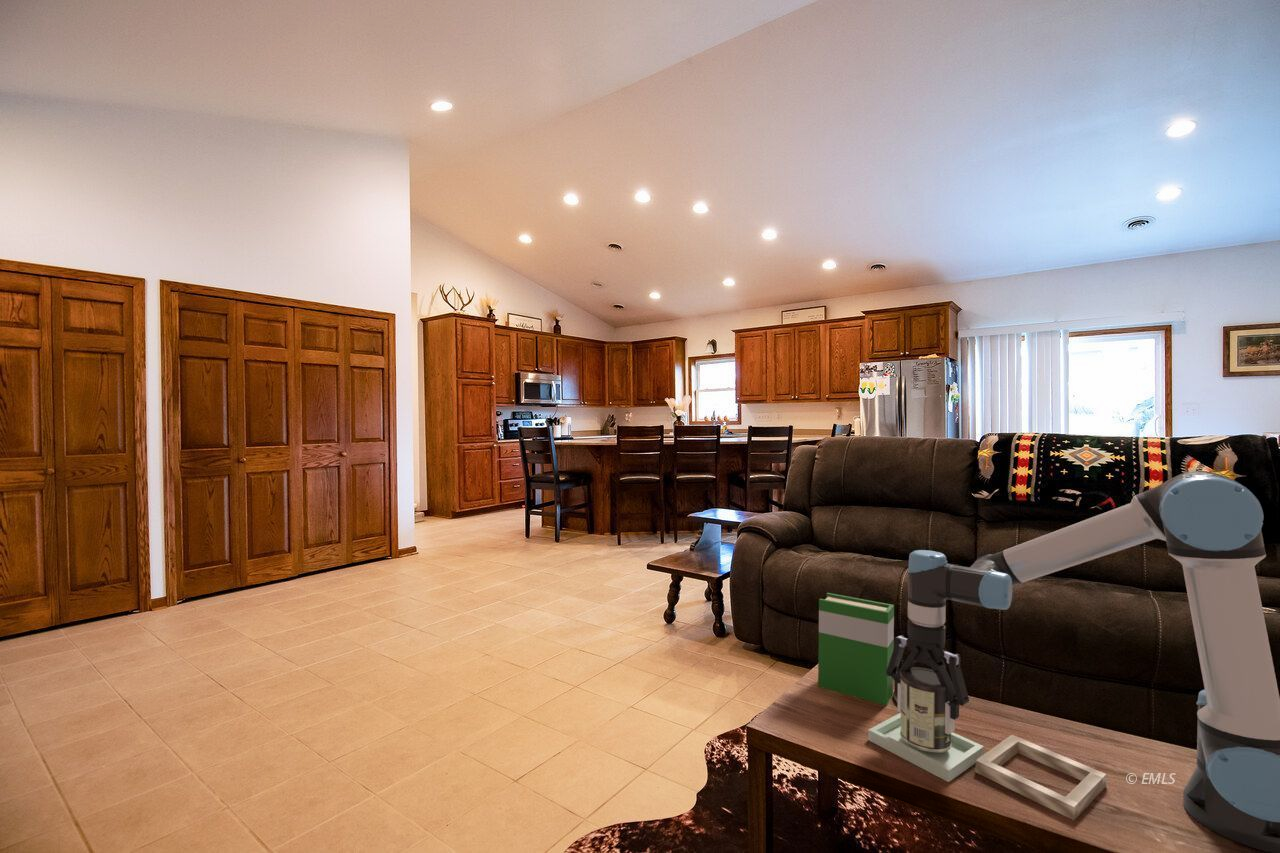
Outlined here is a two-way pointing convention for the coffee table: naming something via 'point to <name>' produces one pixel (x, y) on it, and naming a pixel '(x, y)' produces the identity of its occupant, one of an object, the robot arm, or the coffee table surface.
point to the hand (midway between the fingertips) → (925, 720)
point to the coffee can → (923, 710)
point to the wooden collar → (1066, 806)
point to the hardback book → (856, 647)
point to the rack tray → (933, 762)
